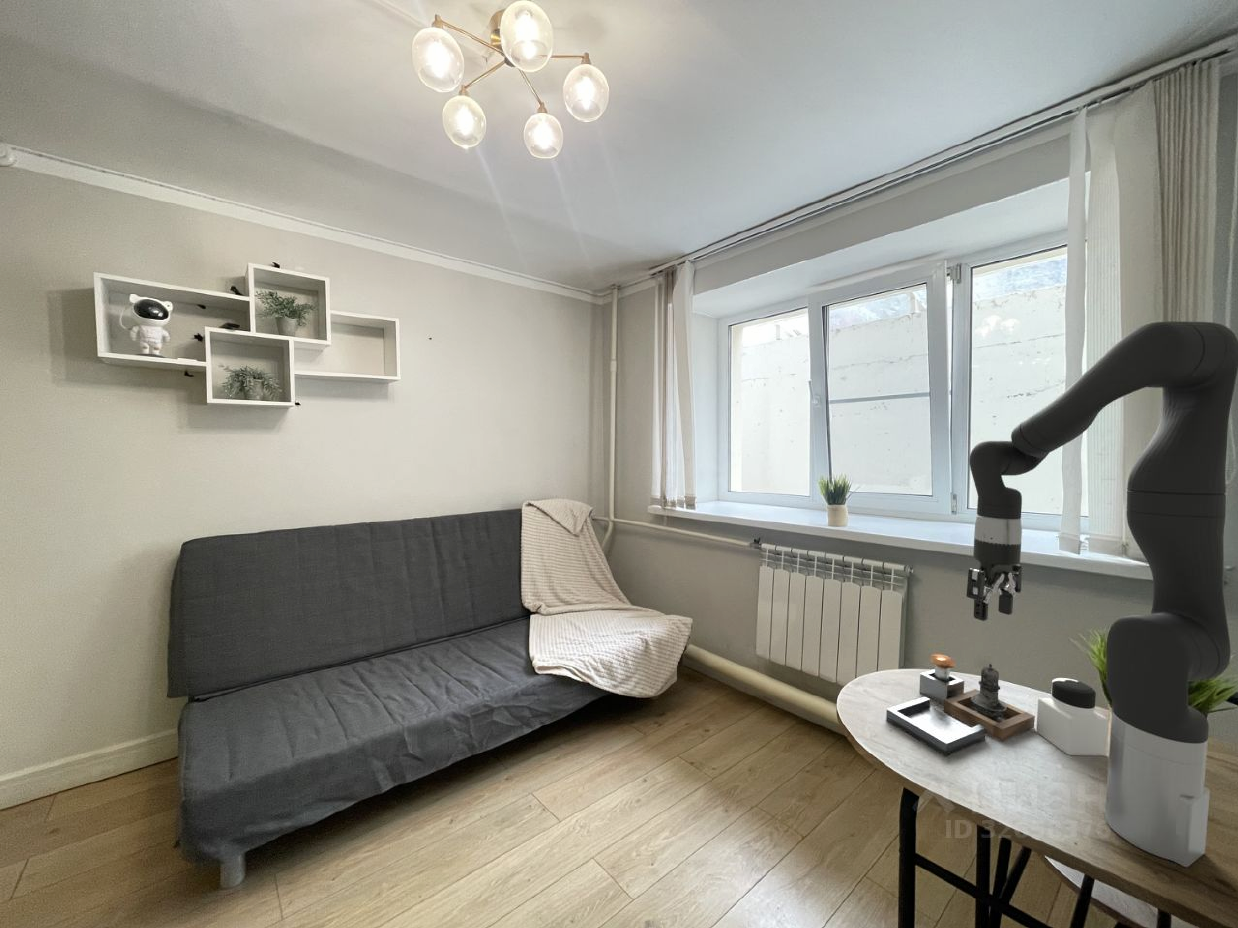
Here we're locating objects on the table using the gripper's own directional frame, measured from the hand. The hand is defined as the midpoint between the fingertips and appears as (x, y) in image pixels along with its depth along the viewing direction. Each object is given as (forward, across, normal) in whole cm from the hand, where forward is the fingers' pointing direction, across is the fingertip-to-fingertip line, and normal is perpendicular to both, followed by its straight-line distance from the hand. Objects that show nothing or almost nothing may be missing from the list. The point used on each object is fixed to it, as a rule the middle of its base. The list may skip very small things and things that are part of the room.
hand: (993, 616), depth 97 cm
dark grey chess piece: (+22, 0, 0) cm, 22 cm away
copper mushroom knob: (+20, 0, +10) cm, 22 cm away
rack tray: (+22, -14, +2) cm, 26 cm away
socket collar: (+22, 0, 0) cm, 22 cm away
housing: (+22, 0, +10) cm, 24 cm away
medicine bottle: (+22, +6, -11) cm, 25 cm away
